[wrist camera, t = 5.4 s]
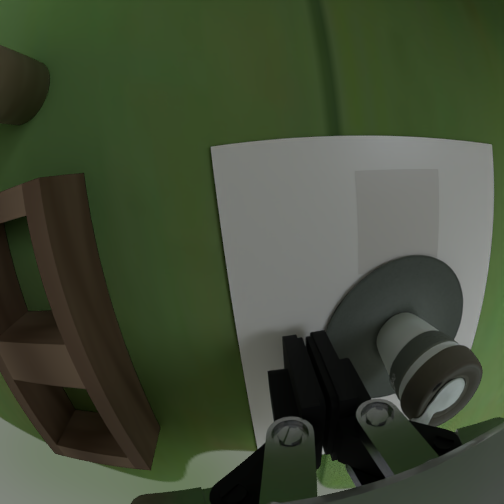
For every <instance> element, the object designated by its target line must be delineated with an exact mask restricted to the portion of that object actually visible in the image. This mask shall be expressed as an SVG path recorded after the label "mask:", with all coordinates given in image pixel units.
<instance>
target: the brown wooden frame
mask: <svg viewBox="0 0 504 504" xmlns="http://www.w3.org/2000/svg"><path fill="white" fill-rule="evenodd" d="M23 216H27V222H28V227H29V232H30V236H31V241H32V245H33V249H34V253H35V257H36V261H37V265H38V269H39V272H40V276H41V279H42V283H43V286H44V289H45V292H46V295H47V298H48V301H49V304H50V307H51V310H49V311H28V310H27V307H26V304H25V301H24V298H23V295H22V292H21V289H20V286H19V283H18V279H17V276H16V273H15V269H14V266H13V262H12V258H11V254H10V250H9V246H8V242H7V237H6V232H5V227H4V222H6V221H9V220H13V219H16V218H19V217H23ZM0 372H1V374H2V376H3V377H4V379H5V381H6V383H7V385H8V386H9V388H10V390H11V391H12V393H13V395H14V396H15V398H16V400H17V401H18V403H19V404H20V406H21V408H22V409H23V411H24V412H25V414H26V415H27V417H28V418H29V420H30V421H31V422H32V424H33V425H34V427H35V428H36V429H37V431H38V432H39V434H40V435H41V436H42V438H43V439H44V440H45V441H46V443H47V444H48V445H49V447H50V448H51V449H52V450H53V452H54V453H55V454H59V455H62V456H67V457H71V458H75V459H79V460H84V461H89V462H94V463H99V464H105V465H111V466H118V467H125V468H133V469H142V470H151V466H152V462H153V457H154V453H155V449H156V444H157V440H158V436H159V432H160V426H159V424H158V422H157V420H156V418H155V416H154V414H153V411H152V409H151V407H150V405H149V403H148V400H147V398H146V396H145V394H144V391H143V389H142V387H141V384H140V382H139V379H138V377H137V374H136V372H135V369H134V367H133V364H132V362H131V359H130V356H129V354H128V351H127V348H126V345H125V343H124V340H123V337H122V334H121V331H120V328H119V325H118V322H117V319H116V316H115V313H114V309H113V306H112V303H111V299H110V296H109V293H108V289H107V285H106V282H105V278H104V274H103V270H102V266H101V262H100V258H99V254H98V250H97V245H96V241H95V236H94V231H93V226H92V221H91V216H90V210H89V204H88V198H87V192H86V185H85V178H84V173H79V174H68V175H58V176H49V177H40V178H36V179H34V180H31V181H28V182H25V183H23V184H20V185H17V186H15V187H12V188H10V189H7V190H4V191H2V192H0ZM63 387H70V388H80V389H86V390H87V392H88V394H89V396H90V398H91V400H92V402H93V403H94V405H95V407H96V409H97V410H98V412H99V413H97V412H88V411H80V410H75V408H74V407H73V405H72V403H71V402H70V400H69V398H68V396H67V395H66V393H65V391H64V389H63Z"/></svg>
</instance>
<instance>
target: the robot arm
mask: <svg viewBox="0 0 504 504" xmlns="http://www.w3.org/2000/svg"><path fill="white" fill-rule="evenodd" d="M305 342H306V346H305V344H304V341H303V338H302V337H300V338H297V335H289V336H282V344H283V359H284V369H278V370H270V371H267V372H268V382H269V391H270V399H271V406H272V413H273V419H274V422H273V423H272V424H271V425H270V426H269V428H268V430H267V433H266V442H265V443H264V444H263V445H262V446H261V447H260V448H259V449H257V450H256V451H255V452H254V453H253V454H252V455H251V456H249V457H248V458H247V459H246V460H245V461H244V462H242V463H241V464H240V465H239V466H237V467H236V468H235V469H234V470H233V471H231V472H230V473H229V474H228V475H226V476H225V477H224V478H223V479H221V480H220V481H219V482H217V483H216V484H215V485H214V486H213V487H212V488H207V489H201V487H199V488H193V489H187V490H180V491H172V492H163V493H153V494H145V495H140V496H138V497H137V498H135V499H134V500H133V501H132V503H131V504H504V418H501V417H497V418H493V419H490V420H487V421H483V422H480V423H477V424H473V425H470V426H466V427H462V428H459V429H457V430H456V432H452V431H449V430H446V429H442V428H438V427H434V426H430V425H426V424H422V423H418V422H414V421H411V420H408V419H407V418H406V417H405V416H404V415H403V413H402V412H401V411H400V410H399V409H398V408H397V406H396V405H394V404H393V403H392V402H390V401H388V400H384V399H371V397H370V395H369V394H368V392H367V390H366V388H365V386H364V384H363V382H362V381H361V379H360V377H359V375H358V373H357V371H356V370H355V368H354V366H353V364H352V362H351V361H350V359H349V358H343V359H339V357H338V355H337V353H336V352H335V350H334V348H333V346H332V344H331V342H330V340H329V338H328V336H327V334H326V332H325V330H321V331H315V332H311V333H310V336H306V338H305ZM322 448H323V449H324V452H325V454H326V455H327V454H330V455H331V458H332V461H334V460H338V462H341V463H343V464H346V465H345V466H346V470H347V472H348V473H349V475H350V477H351V479H352V481H353V482H354V484H355V486H356V488H352V489H348V490H344V491H340V492H336V493H332V494H328V495H323V496H318V497H317V476H316V470H317V469H318V468H319V467H320V465H321V457H322Z"/></svg>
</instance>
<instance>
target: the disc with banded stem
mask: <svg viewBox="0 0 504 504" xmlns="http://www.w3.org/2000/svg"><path fill="white" fill-rule="evenodd" d="M462 312H463V294H462V289H461V285H460V282H459V280H458V278H457V276H456V274H455V273H454V271H453V270H452V269H451V268H450V267H449V266H448V265H447V264H446V263H444V262H443V261H441V260H439V259H437V258H434V257H431V256H425V255H412V256H406V257H402V258H399V259H396V260H393V261H391V262H389V263H386V264H385V265H383V266H381V267H379V268H377V269H376V270H374V271H373V272H371V273H370V274H369V275H367V276H366V277H365V278H364V279H362V280H361V281H360V282H359V283H358V284H357V285H356V286H355V287H354V288H353V289H352V290H351V291H350V292H349V293H348V294H347V295H346V296H345V297H344V298H343V300H342V301H341V302H340V304H339V305H338V306H337V308H336V309H335V311H334V313H333V315H332V317H331V319H330V321H329V324H328V327H327V330H326V334H327V336H328V338H329V340H330V342H331V344H332V346H333V348H334V350H335V352H336V353H337V355H338V357H339V359H343V358H349V359H350V361H351V362H352V364H353V366H354V368H355V370H356V371H357V373H358V375H359V377H360V379H361V381H362V382H363V384H364V386H365V388H366V390H367V392H368V394H369V395H370V397H371V398H380V397H385V396H389V395H392V394H396V395H397V398H398V399H399V400H400V406H401V410H402V412H403V413H404V414H405V416H406V417H407V418H408V419H409V420H411V421H414V422H418V423H422V424H426V425H430V426H434V427H436V426H438V425H441V424H443V423H444V422H446V421H448V420H449V419H451V418H452V417H454V416H455V415H456V414H457V413H458V412H459V411H460V410H462V409H463V408H464V406H465V405H466V404H467V403H468V402H469V401H470V399H471V398H472V397H473V395H474V393H475V392H476V390H477V388H478V386H479V384H480V381H481V378H482V366H481V364H480V362H479V360H478V359H477V357H476V356H475V355H474V353H473V352H472V351H471V350H470V349H469V348H468V347H466V346H464V345H459V344H458V343H457V342H456V341H455V340H454V339H455V337H456V334H457V332H458V329H459V326H460V323H461V319H462Z"/></svg>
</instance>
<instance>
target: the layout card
mask: <svg viewBox="0 0 504 504" xmlns="http://www.w3.org/2000/svg"><path fill="white" fill-rule="evenodd" d="M211 155H212V163H213V171H214V179H215V187H216V195H217V202H218V210H219V217H220V224H221V232H222V239H223V246H224V253H225V260H226V266H227V273H228V280H229V286H230V293H231V299H232V306H233V312H234V318H235V325H236V331H237V337H238V343H239V349H240V355H241V361H242V366H243V372H244V378H245V384H246V389H247V395H248V400H249V406H250V411H251V417H252V422H253V427H254V433H255V438H256V443H257V448H258V449H259V448H260V447H261V446H262V445H263V444H264V443H265V442H266V433H267V430H268V428H269V426H270V425H271V424H272V423H273V422H274V419H273V413H272V406H271V399H270V391H269V382H268V372H267V371H270V370H278V369H284V359H283V344H282V336H289V335H297V338H300V337H302V338H303V341H304V344H305V346H306V342H305V338H306V336H310V333H311V332H315V331H321V330H325V332H326V330H327V327H328V324H329V321H330V319H331V317H332V315H333V313H334V311H335V309H336V308H337V306H338V305H339V304H340V302H341V301H342V300H343V298H344V297H345V296H346V295H347V294H348V293H349V292H350V291H351V290H352V289H353V288H354V287H355V286H356V285H357V284H358V283H359V282H360V281H361V280H362V279H364V278H365V277H366V276H367V275H369V274H370V273H371V272H373V271H374V270H376V269H377V268H379V267H381V266H383V265H385V264H386V263H389V262H391V261H393V260H396V259H399V258H402V257H406V256H412V255H425V256H431V257H434V258H437V259H439V260H441V261H443V262H444V263H446V264H447V265H448V266H449V267H450V268H451V269H452V270H453V271H454V273H455V274H456V276H457V278H458V280H459V282H460V285H461V289H462V294H463V312H462V319H461V323H460V326H459V329H458V332H457V334H456V337H455V339H454V340H455V341H456V342H457V343H458V344H459V345H464V346H466V347H468V348H469V349H470V350H471V347H472V344H473V340H474V336H475V333H476V329H477V325H478V321H479V316H480V312H481V307H482V303H483V298H484V292H485V287H486V281H487V275H488V268H489V260H490V252H491V242H492V230H493V212H494V170H493V152H492V144H485V143H477V142H469V141H460V140H450V139H438V138H424V137H405V136H322V137H302V138H287V139H274V140H263V141H253V142H244V143H235V144H227V145H219V146H212V147H211ZM371 399H384V400H388V401H390V402H392V403H393V404H394V405H396V406H397V408H398V409H399V410H400V411H401V412H402V410H401V406H400V400H399V399H398V398H397V395H396V394H392V395H389V396H385V397H380V398H371ZM402 413H403V412H402ZM403 415H404V416H405V414H404V413H403ZM405 417H406V416H405ZM406 418H407V417H406ZM407 419H408V418H407ZM408 420H409V419H408ZM322 454H325V452H324V449H323V448H322Z"/></svg>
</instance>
